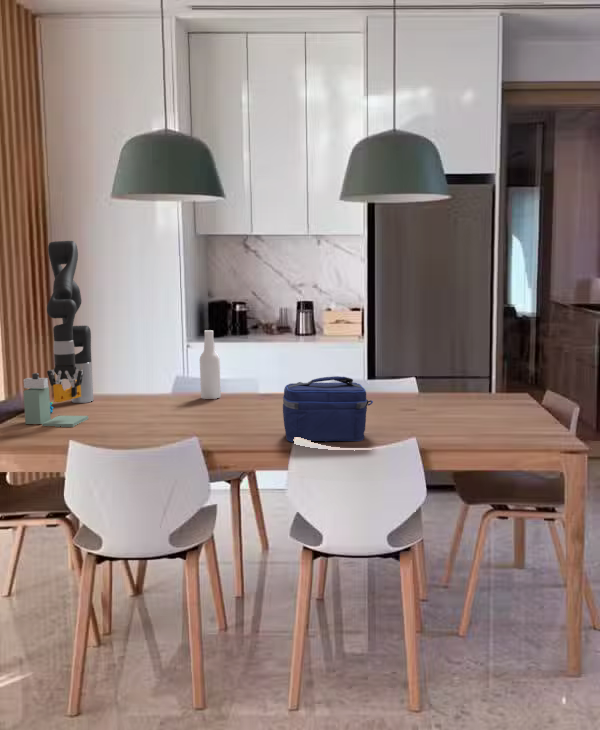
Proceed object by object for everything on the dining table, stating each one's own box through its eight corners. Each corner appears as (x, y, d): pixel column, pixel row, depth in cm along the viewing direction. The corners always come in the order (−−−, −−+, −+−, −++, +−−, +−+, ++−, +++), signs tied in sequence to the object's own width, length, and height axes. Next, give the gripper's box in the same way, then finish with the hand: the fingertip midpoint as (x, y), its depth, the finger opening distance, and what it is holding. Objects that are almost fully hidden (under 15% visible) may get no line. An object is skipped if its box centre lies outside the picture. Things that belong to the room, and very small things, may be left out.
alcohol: (197, 399, 351) (194, 331, 347) (207, 395, 359) (205, 329, 355) (214, 400, 348) (212, 331, 344) (224, 397, 356) (222, 329, 352)
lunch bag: (367, 428, 289) (366, 371, 286) (378, 441, 268) (378, 381, 265) (281, 431, 286) (280, 374, 283) (285, 444, 265) (284, 383, 262)
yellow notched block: (72, 395, 310) (71, 379, 310) (81, 396, 309) (80, 380, 308) (50, 401, 300) (49, 384, 299) (59, 402, 298) (58, 385, 297)
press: (39, 418, 315) (37, 385, 313) (88, 418, 312) (86, 385, 310) (21, 426, 300) (19, 392, 298) (73, 427, 298) (71, 392, 296)
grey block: (28, 386, 307) (27, 372, 307) (48, 386, 306) (47, 372, 306) (24, 388, 304) (23, 374, 303) (44, 388, 303) (43, 374, 302)
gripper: (86, 351, 305) (88, 395, 307) (50, 351, 306) (53, 395, 309) (78, 353, 297) (81, 398, 300) (41, 353, 299) (44, 398, 301)
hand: (66, 396), depth 304 cm, fingers closed on yellow notched block, 5 cm apart
